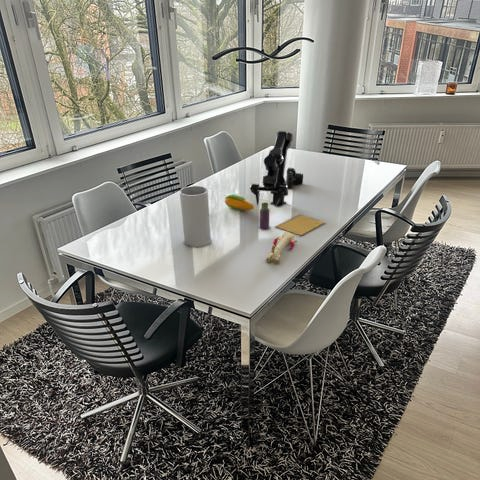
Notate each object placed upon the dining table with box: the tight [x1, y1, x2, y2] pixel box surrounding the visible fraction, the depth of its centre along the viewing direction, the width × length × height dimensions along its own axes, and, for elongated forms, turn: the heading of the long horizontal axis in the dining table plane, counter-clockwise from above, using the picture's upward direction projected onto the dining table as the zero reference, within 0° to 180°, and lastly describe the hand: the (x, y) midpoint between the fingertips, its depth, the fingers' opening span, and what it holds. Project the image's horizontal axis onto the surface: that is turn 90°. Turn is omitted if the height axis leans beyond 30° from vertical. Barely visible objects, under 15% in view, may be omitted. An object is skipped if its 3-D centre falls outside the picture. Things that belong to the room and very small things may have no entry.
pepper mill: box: [259, 202, 271, 230], centre depth 226 cm, size 5×5×12 cm
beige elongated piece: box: [265, 231, 298, 265], centre depth 205 cm, size 10×9×25 cm
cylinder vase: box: [179, 185, 212, 248], centre depth 211 cm, size 12×12×25 cm
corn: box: [224, 194, 255, 212], centre depth 248 cm, size 7×8×20 cm
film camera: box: [285, 167, 304, 190], centre depth 279 cm, size 18×12×10 cm
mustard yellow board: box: [275, 214, 325, 237], centre depth 231 cm, size 20×16×1 cm
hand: (266, 205), depth 226 cm, fingers open, 9 cm apart
